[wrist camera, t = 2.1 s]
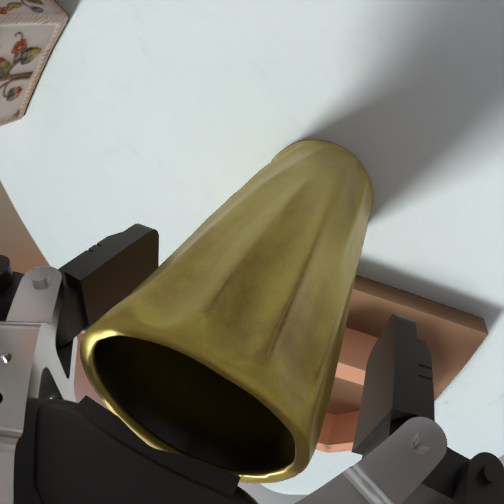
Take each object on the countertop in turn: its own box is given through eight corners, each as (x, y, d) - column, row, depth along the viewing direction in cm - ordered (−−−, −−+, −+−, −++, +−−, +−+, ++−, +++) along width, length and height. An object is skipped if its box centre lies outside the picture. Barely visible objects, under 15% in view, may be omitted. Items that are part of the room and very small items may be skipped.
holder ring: (280, 304, 20) (264, 336, 17) (432, 354, 17) (434, 390, 15) (253, 395, 25) (239, 423, 23) (367, 432, 23) (362, 461, 21)
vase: (394, 183, 15) (413, 447, 4) (332, 264, 19) (245, 502, 7) (296, 118, 16) (64, 223, 4) (246, 207, 19) (66, 387, 8)
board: (253, 241, 20) (244, 252, 19) (483, 319, 17) (488, 333, 15) (226, 387, 29) (219, 399, 27) (383, 439, 25) (381, 451, 24)
